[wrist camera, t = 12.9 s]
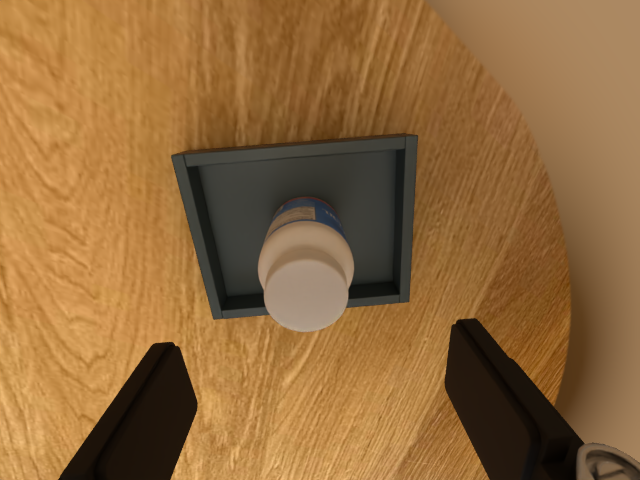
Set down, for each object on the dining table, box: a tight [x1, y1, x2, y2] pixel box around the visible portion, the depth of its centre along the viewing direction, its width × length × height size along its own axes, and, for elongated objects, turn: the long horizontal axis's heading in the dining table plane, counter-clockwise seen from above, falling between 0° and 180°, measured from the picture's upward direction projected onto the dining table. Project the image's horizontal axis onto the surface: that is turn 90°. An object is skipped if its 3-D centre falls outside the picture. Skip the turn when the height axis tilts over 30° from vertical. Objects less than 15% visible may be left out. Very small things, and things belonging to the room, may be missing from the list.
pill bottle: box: [258, 197, 354, 332], centre depth 18 cm, size 6×5×10 cm
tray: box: [171, 133, 418, 320], centre depth 22 cm, size 16×13×3 cm
